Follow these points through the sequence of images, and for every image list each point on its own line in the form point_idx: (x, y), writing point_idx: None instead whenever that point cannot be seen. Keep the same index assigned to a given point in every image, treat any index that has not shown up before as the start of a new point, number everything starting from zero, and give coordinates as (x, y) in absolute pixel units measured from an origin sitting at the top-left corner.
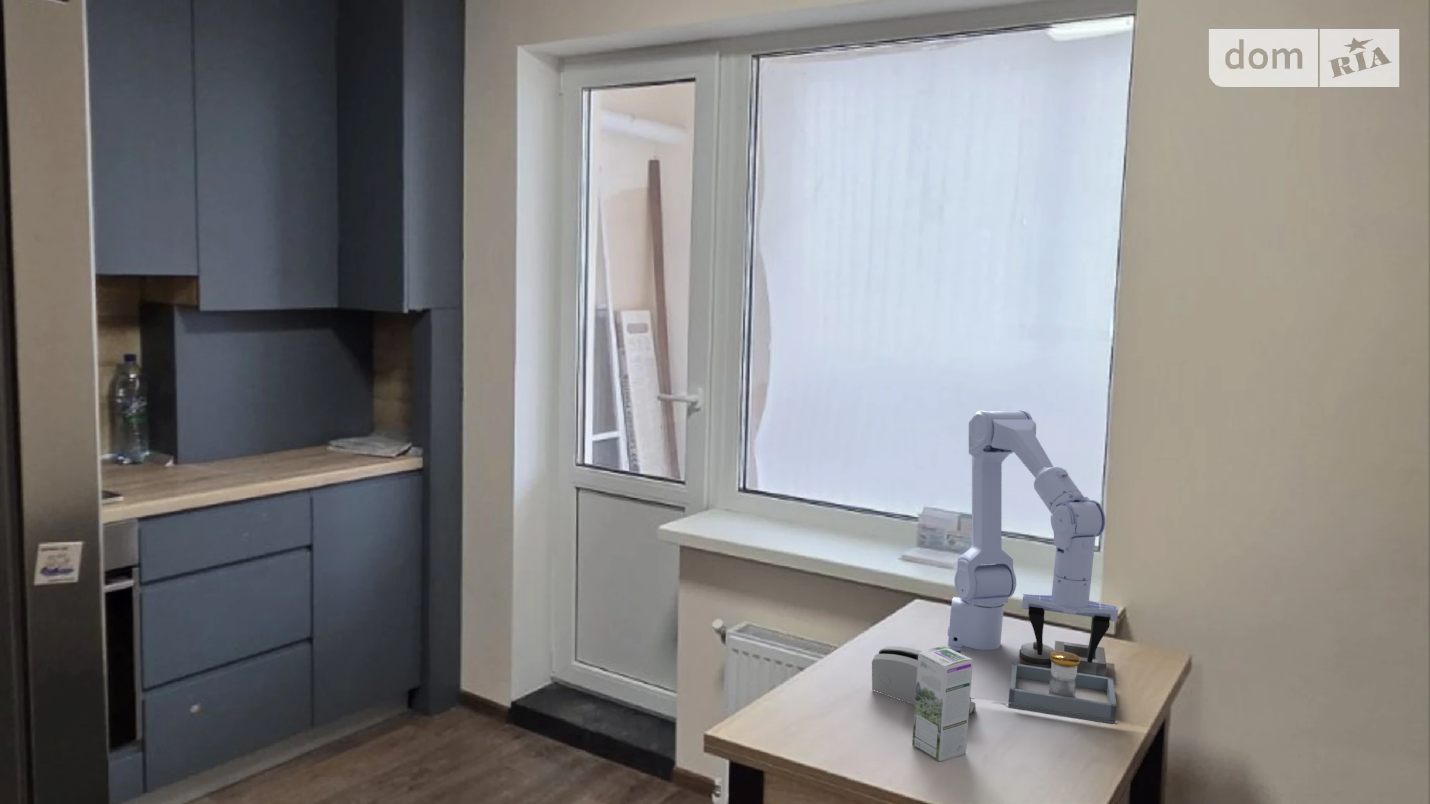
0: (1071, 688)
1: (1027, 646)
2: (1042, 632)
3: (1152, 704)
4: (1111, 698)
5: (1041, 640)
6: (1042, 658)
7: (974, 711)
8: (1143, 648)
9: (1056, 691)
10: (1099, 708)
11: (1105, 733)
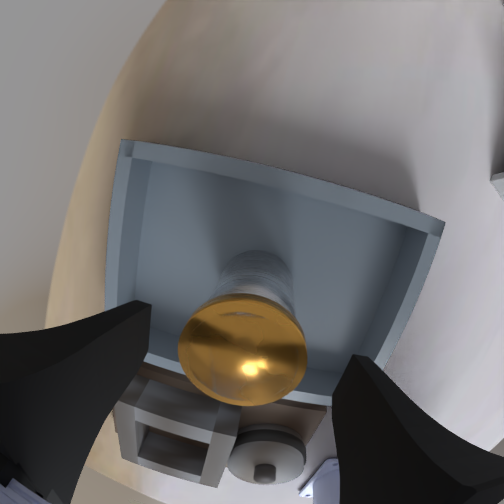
0: (231, 269)
1: (286, 474)
2: (402, 426)
3: (56, 283)
4: (121, 201)
5: (386, 394)
6: (263, 441)
7: (496, 174)
8: (87, 462)
9: (280, 268)
10: (172, 146)
11: (186, 81)
